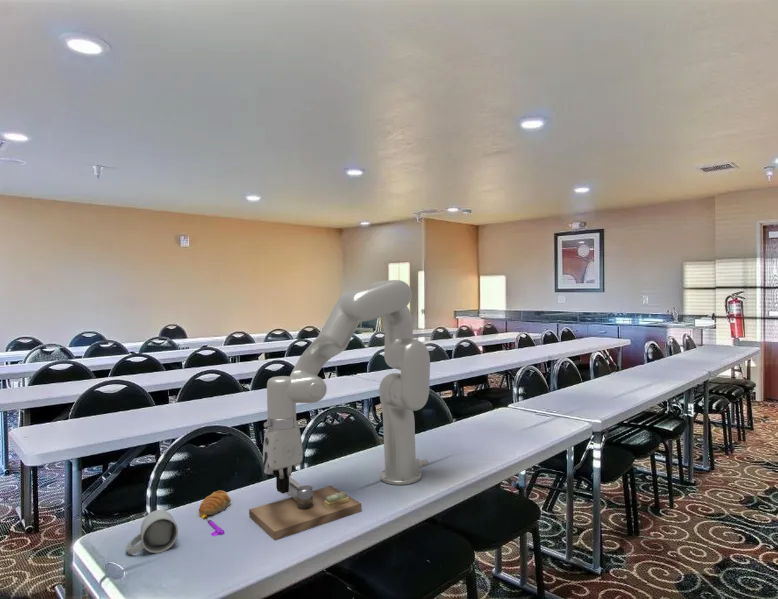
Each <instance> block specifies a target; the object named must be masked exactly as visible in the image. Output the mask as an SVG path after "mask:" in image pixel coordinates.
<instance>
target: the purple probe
mask: <svg viewBox="0 0 778 599" xmlns="http://www.w3.org/2000/svg"><path fill="white" fill-rule="evenodd" d="M198 515H199V517H201V519H202V520H206V521H207V523H208V525H209V526H210V527H211V528H213V529H214V531H213V532H211V533H210V535H211V536H212V537H216V536H218V535H221V536H223V535H224V534H225V531H224V529H222V528H221V526H220V527H219V525H217V524H216V523H215V522H214V521H213V520H211V519H209V517H208V515H200V513H198Z"/></svg>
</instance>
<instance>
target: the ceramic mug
mask: <svg viewBox="0 0 778 599" xmlns="http://www.w3.org/2000/svg"><path fill="white" fill-rule="evenodd" d="M178 535H179V527H178V525H177V523H176V521H175V519H174V517H173V515H172V514H171V513H170V512H168V511H167V510H164V509H156V510H153V511H151V512H149V513H148V514H147V515H146V516H145V517H144V519H143V520H142V523H141V525H140V533H139V534H137V535H136V536H133V538H132V539H131V540H129V542H127V544H126V546H125V551H126V552H127V553H128V555H134V554H136V553H137V554H138V552H141V551H142V550H144V549H145V550H146V551H147V552H149V553H152V554H160V553H163V552H165V551H167V550H169V549H170V548H171V547H173V545H174V544H175V543H176V540H177V538H178Z"/></svg>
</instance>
